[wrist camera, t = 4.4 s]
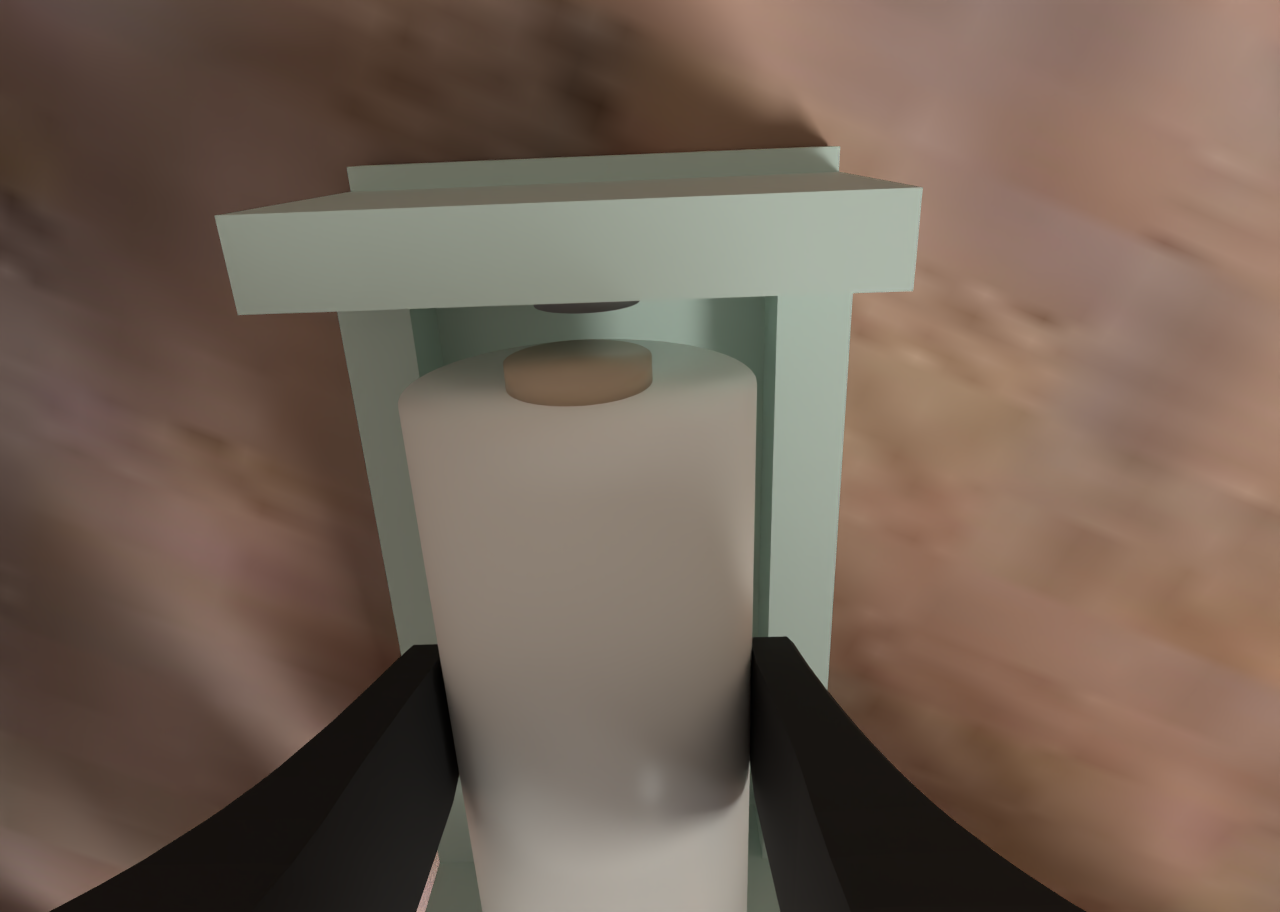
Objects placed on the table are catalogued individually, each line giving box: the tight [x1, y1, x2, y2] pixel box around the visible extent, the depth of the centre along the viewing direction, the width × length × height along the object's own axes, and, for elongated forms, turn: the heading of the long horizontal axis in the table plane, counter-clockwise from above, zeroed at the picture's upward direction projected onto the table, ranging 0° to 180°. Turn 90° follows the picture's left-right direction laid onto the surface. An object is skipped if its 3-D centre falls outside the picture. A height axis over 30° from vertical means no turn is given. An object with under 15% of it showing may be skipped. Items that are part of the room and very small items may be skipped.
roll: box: [398, 339, 757, 912], centre depth 13 cm, size 11×5×5 cm, turn 2°
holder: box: [215, 146, 923, 912], centre depth 15 cm, size 16×8×5 cm, turn 2°
